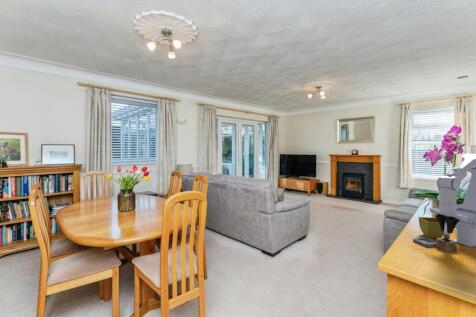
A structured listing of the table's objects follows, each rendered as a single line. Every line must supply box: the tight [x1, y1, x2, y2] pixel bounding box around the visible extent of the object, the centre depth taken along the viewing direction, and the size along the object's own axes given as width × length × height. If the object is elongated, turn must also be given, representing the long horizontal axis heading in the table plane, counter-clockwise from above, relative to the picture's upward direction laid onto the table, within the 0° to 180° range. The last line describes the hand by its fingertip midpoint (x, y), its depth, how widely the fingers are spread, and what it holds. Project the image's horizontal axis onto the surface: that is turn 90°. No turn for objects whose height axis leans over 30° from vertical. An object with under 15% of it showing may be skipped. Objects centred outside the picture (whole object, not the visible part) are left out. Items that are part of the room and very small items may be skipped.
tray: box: [412, 236, 436, 248], centre depth 110 cm, size 8×7×2 cm
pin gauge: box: [443, 221, 451, 240], centre depth 104 cm, size 2×2×8 cm
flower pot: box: [418, 216, 444, 239], centre depth 119 cm, size 9×9×9 cm
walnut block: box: [435, 237, 458, 252], centre depth 104 cm, size 5×5×4 cm
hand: (446, 231), depth 104 cm, fingers closed on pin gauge, 2 cm apart
